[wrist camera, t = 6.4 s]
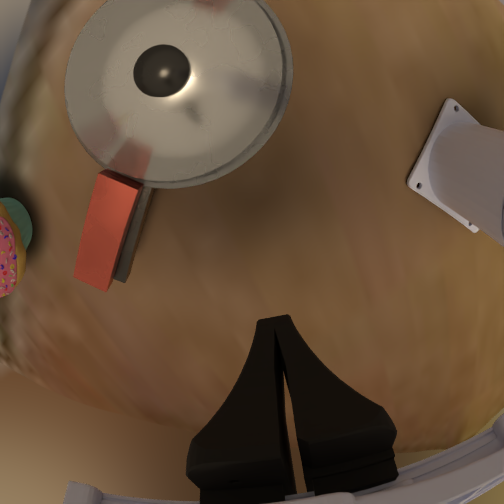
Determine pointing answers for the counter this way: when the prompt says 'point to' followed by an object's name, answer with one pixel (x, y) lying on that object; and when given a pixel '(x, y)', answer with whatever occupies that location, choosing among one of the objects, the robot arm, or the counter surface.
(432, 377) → the counter surface
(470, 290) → the counter surface
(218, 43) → the lid
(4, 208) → the cupcake
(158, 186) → the pot
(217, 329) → the counter surface
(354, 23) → the counter surface
